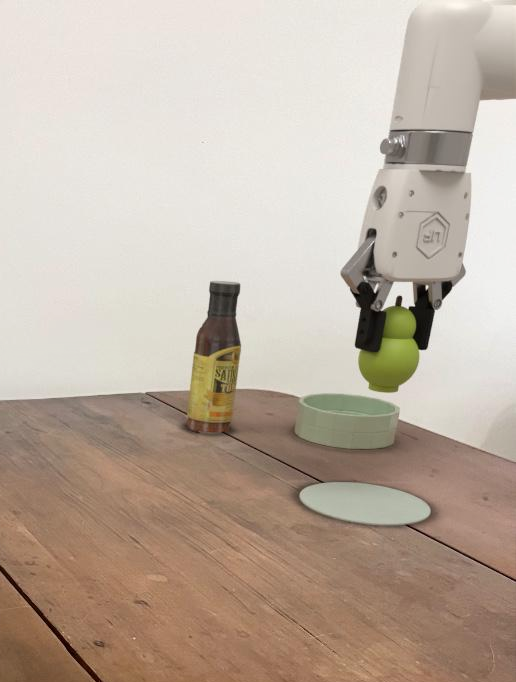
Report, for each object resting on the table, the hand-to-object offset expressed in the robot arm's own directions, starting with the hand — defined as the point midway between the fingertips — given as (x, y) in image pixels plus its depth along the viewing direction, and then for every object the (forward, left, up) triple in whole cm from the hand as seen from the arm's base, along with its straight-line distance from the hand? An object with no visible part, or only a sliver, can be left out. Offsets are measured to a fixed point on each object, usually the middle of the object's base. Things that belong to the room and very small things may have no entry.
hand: (390, 347), depth 95 cm
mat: (0, 0, -17) cm, 17 cm away
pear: (0, 0, -4) cm, 4 cm away
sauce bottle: (+11, -31, -17) cm, 37 cm away
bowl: (-7, -27, -17) cm, 33 cm away
